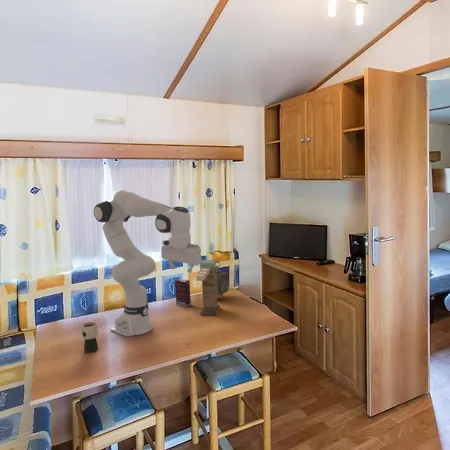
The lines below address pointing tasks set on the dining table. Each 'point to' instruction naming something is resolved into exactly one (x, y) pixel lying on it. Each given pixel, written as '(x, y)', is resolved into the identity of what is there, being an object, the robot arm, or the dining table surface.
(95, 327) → the character mug
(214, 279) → the walnut shelf
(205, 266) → the mallet
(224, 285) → the tabletop clock
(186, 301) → the supplement box
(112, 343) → the dining table surface
